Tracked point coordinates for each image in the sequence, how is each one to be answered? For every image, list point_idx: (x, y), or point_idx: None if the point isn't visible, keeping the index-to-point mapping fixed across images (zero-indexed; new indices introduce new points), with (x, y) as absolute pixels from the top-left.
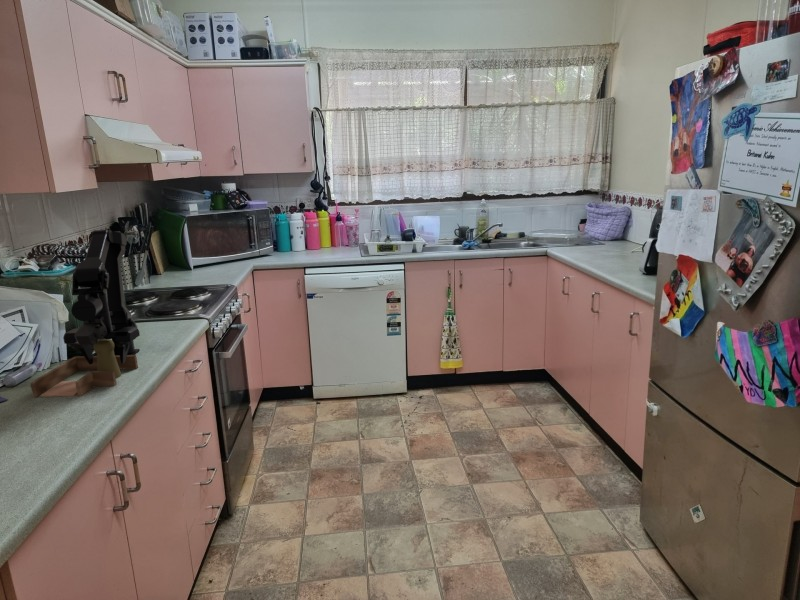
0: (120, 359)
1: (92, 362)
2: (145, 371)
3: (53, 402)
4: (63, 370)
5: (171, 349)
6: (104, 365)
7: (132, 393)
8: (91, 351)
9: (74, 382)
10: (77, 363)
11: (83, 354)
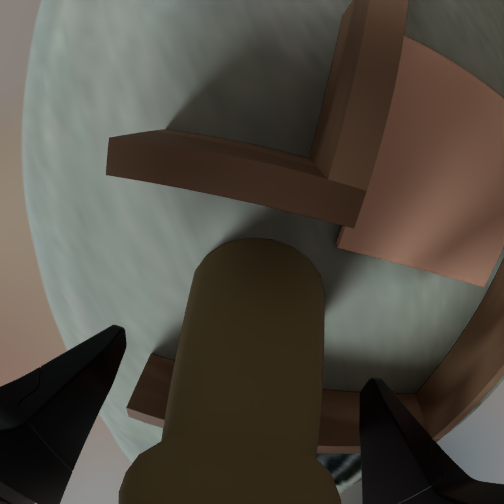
0: (102, 346)
1: (362, 395)
2: (92, 308)
3: (460, 8)
4: (485, 354)
5: (129, 442)
6: (243, 320)
7: (50, 25)
8: (368, 473)
9: (441, 252)
10: (422, 417)
11: (429, 440)
